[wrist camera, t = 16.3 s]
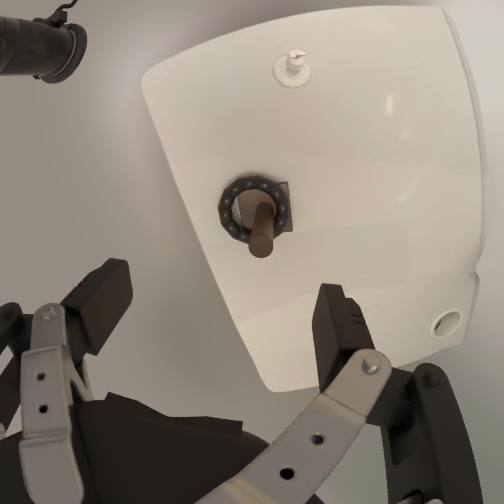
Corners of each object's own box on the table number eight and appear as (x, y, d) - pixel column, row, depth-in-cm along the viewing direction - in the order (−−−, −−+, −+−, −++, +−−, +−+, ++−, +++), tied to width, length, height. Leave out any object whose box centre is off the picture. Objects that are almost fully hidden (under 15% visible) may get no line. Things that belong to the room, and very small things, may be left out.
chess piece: (268, 60, 30) (266, 38, 21) (303, 51, 29) (313, 28, 20) (280, 91, 32) (282, 79, 23) (315, 83, 31) (329, 69, 22)
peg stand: (237, 187, 38) (219, 217, 26) (287, 181, 37) (293, 209, 25) (244, 233, 41) (231, 280, 29) (292, 228, 40) (298, 274, 28)
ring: (214, 180, 37) (211, 183, 35) (285, 171, 35) (285, 173, 34) (226, 244, 41) (224, 249, 39) (292, 237, 39) (293, 242, 38)
